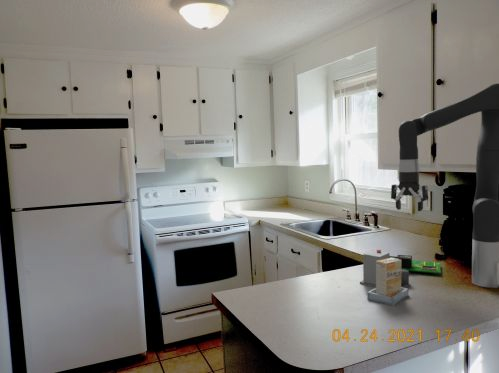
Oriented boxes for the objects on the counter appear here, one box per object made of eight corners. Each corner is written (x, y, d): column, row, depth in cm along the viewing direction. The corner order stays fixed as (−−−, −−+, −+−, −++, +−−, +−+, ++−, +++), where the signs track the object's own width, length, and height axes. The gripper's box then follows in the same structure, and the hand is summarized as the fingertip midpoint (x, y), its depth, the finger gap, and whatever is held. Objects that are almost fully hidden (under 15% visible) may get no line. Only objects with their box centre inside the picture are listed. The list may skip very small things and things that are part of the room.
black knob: (411, 283, 157) (411, 271, 156) (403, 285, 155) (403, 273, 154) (402, 281, 160) (402, 268, 160) (394, 282, 158) (394, 270, 158)
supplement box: (386, 300, 139) (386, 263, 138) (375, 296, 143) (375, 260, 142) (402, 295, 143) (402, 259, 142) (391, 291, 147) (391, 256, 146)
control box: (393, 282, 159) (393, 250, 158) (381, 288, 152) (380, 255, 151) (372, 277, 166) (372, 246, 165) (359, 283, 159) (359, 251, 158)
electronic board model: (440, 251, 177) (440, 260, 164) (440, 266, 178) (440, 276, 164) (370, 246, 190) (365, 254, 176) (370, 260, 191) (366, 269, 177)
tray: (408, 295, 145) (408, 288, 144) (392, 305, 136) (392, 298, 136) (383, 289, 151) (383, 283, 151) (367, 298, 143) (367, 292, 142)
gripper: (387, 171, 164) (388, 210, 165) (423, 171, 154) (423, 212, 156) (395, 170, 169) (396, 208, 171) (430, 170, 159) (430, 210, 161)
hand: (409, 210), depth 163 cm, fingers open, 8 cm apart
